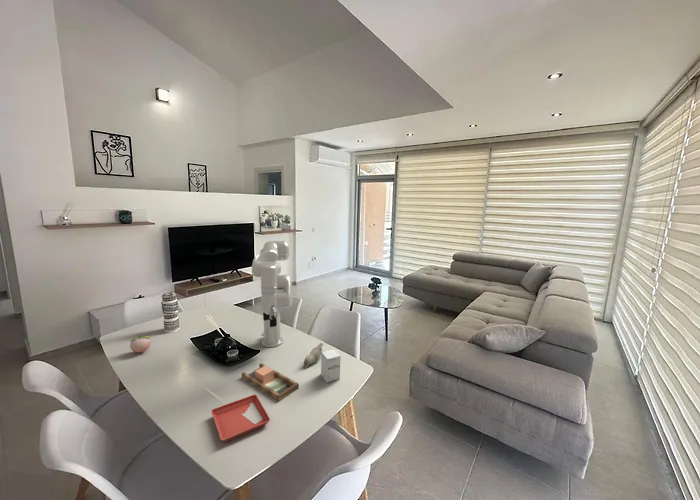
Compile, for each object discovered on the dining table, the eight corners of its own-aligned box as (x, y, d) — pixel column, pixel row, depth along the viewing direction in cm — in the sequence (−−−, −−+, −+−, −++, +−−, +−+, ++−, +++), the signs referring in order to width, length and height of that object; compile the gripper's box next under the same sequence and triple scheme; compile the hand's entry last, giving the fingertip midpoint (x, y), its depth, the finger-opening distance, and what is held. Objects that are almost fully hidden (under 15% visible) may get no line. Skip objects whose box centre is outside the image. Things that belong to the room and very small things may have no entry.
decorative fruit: (131, 358, 158) (129, 341, 156) (130, 352, 164) (128, 335, 162) (152, 353, 164) (151, 336, 162) (150, 347, 170) (148, 330, 168)
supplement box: (326, 383, 141) (326, 359, 139) (320, 375, 148) (320, 351, 146) (340, 379, 145) (340, 355, 142) (334, 371, 151) (334, 348, 149)
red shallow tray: (271, 426, 115) (271, 419, 114) (221, 448, 104) (221, 440, 104) (256, 400, 129) (255, 393, 128) (211, 417, 119) (210, 409, 118)
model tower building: (174, 333, 187) (171, 295, 183) (160, 332, 188) (156, 295, 183) (183, 327, 196) (180, 290, 192) (169, 326, 197) (166, 290, 192)
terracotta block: (255, 380, 141) (255, 371, 140) (265, 374, 146) (265, 365, 145) (263, 385, 138) (263, 375, 137) (273, 379, 142) (273, 369, 141)
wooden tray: (241, 378, 143) (241, 373, 143) (261, 368, 152) (261, 362, 152) (279, 402, 127) (279, 396, 127) (298, 389, 136) (298, 383, 136)
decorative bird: (300, 367, 154) (300, 354, 153) (317, 353, 168) (318, 341, 167) (309, 370, 151) (309, 357, 150) (326, 356, 166) (326, 343, 164)
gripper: (256, 286, 150) (257, 319, 153) (267, 295, 136) (268, 330, 139) (270, 284, 154) (271, 316, 157) (283, 293, 140) (283, 327, 143)
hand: (269, 323), depth 148 cm, fingers open, 9 cm apart
